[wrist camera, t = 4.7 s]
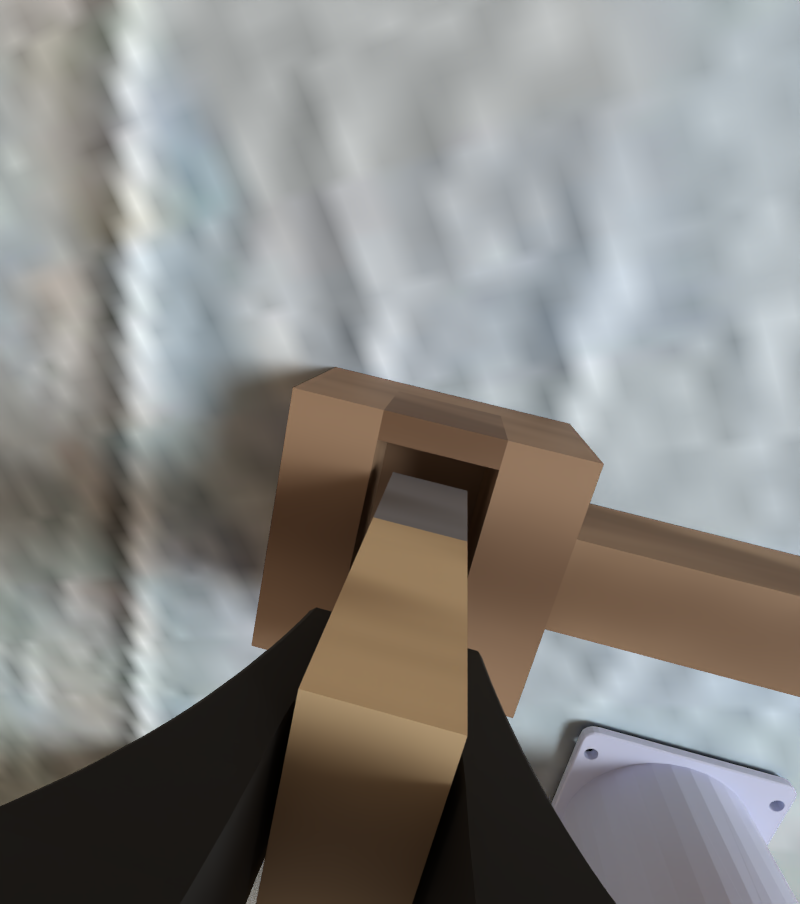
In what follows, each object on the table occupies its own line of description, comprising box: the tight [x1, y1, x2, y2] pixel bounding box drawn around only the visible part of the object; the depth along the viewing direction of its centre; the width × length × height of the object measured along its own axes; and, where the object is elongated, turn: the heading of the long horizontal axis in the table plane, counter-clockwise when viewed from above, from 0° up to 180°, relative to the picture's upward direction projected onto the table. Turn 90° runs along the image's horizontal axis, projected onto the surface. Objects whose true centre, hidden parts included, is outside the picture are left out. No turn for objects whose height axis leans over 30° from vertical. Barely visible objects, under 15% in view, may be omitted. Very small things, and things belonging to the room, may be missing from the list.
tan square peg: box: [256, 472, 467, 904], centre depth 10 cm, size 5×2×8 cm, turn 168°
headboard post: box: [252, 367, 800, 718], centre depth 16 cm, size 8×30×4 cm, turn 78°
